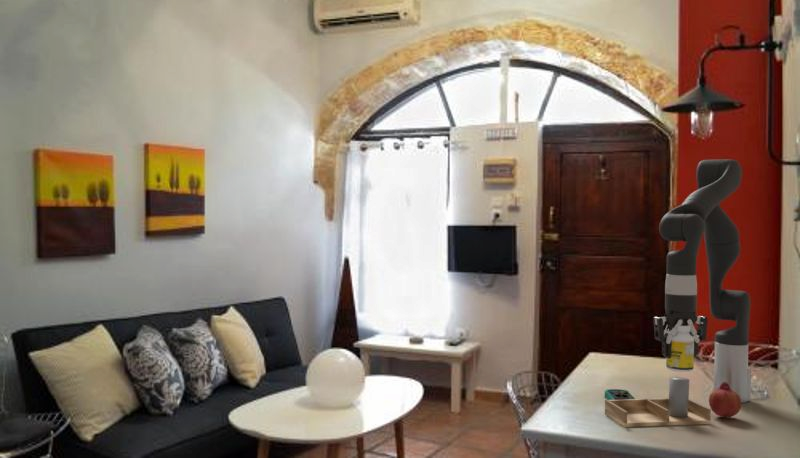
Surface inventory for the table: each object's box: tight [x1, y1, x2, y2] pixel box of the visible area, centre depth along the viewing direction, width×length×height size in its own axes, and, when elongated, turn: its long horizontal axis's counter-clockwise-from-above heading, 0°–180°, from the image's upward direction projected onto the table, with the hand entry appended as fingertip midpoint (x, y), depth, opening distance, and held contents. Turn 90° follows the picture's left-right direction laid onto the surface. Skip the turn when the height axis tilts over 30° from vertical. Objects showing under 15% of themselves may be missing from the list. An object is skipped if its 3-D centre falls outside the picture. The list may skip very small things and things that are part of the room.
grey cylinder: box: [668, 376, 690, 418], centre depth 185 cm, size 5×5×10 cm
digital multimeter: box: [604, 388, 636, 400], centre depth 201 cm, size 7×15×3 cm, turn 175°
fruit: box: [708, 382, 742, 419], centre depth 187 cm, size 8×8×10 cm
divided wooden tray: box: [604, 397, 712, 428], centre depth 185 cm, size 24×12×4 cm, turn 98°
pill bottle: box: [665, 325, 695, 373], centre depth 173 cm, size 6×6×12 cm
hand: (680, 357), depth 173 cm, fingers closed on pill bottle, 6 cm apart
